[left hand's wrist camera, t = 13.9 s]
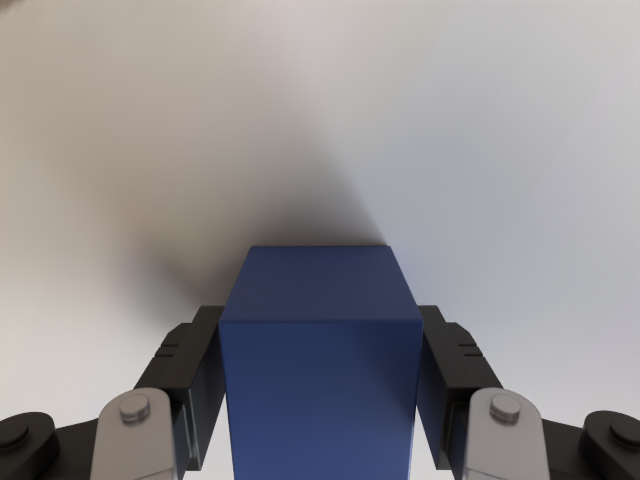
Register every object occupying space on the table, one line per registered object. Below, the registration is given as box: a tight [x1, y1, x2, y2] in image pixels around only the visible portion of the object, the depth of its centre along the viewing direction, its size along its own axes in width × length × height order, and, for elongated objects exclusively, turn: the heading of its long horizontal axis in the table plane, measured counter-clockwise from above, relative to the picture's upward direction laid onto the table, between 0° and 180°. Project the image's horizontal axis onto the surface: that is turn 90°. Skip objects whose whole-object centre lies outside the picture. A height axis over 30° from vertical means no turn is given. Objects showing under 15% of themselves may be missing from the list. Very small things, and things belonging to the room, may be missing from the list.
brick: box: [218, 246, 424, 480], centre depth 11 cm, size 5×4×4 cm
